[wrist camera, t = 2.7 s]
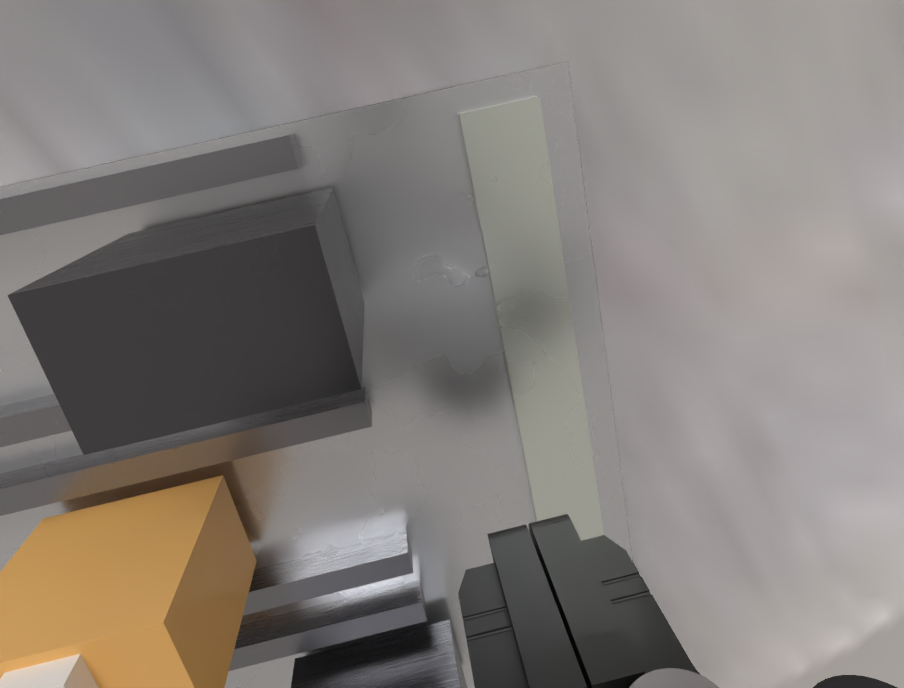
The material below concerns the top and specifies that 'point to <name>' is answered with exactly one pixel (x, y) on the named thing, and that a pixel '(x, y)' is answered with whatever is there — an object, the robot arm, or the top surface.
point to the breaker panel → (400, 357)
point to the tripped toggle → (128, 594)
